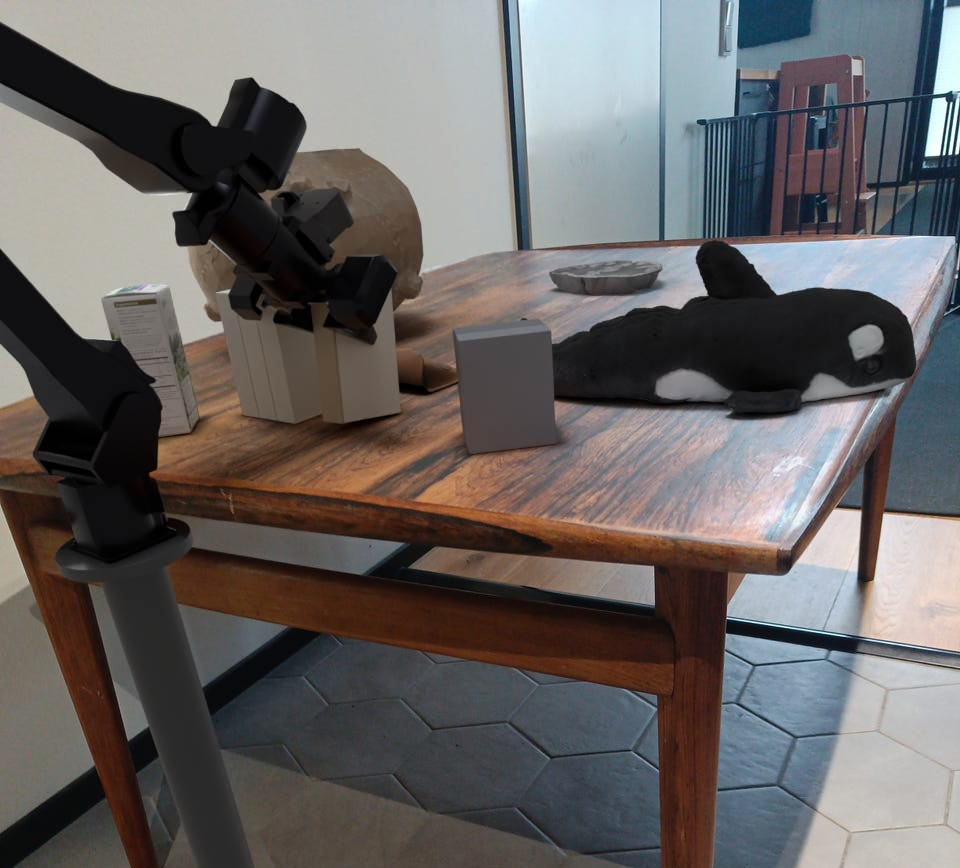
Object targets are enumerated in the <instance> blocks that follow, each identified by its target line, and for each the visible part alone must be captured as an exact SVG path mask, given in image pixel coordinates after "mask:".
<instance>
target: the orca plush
mask: <svg viewBox="0 0 960 868" xmlns="http://www.w3.org/2000/svg"><path fill="white" fill-rule="evenodd" d="M695 264H696V265H697V269H698V271H699V276H700V277H701V280H702V284H703V286H704V289H705V291H706V295H699V296H694V297H692V298H690V299H689V300H687V302H686V303H685V304H683V306H682V307H681V308H677V307H671V306H668V305H666V304H665V305H663V304H661V305H656V306H653V307H633V309H631V310H628V311H627V313H625V314H624V315H623V314H622V315H619V316H616V317H613V318H610V319H607V320H602V321H600V322H597V323H595V324H594V325H592V326H591V327H590V329H589V330H582V331H577V332H575V333H574V334H573V335H570V336H567V337H565V338H564V339H563V340H561V341H560V342H556V343H552V361H553V383H554V396H559V397H570V398H587V399H592V398H593V399H594V398H595V399H596V398H608V399H614V398H621V399H631V400H644V401H648V402H650V403H652V404H659V405H660V404H661V405H662V404H667V405H669V404H680V403H684V402H709V403H724V407H725V408H726V409H730V410H732V411H734V412H736V413H740V414H743V413H758V414H777V413H787V412H793V411H794V410H798V409H800V408H801V404H802V403H805V402H813V401H821V400H825V399H826V400H828V399H832V398H833V399H834V398H842V397H847V396H853V395H860V394H861V395H862V394H865V393H866V394H867V393H871V392H876V391H880V390H884V389H889V388H893V387H897V386H899V385H901V384H904V383H907V382H908V380H909V378H912V376H914V374H915V371H916V369H917V355H916V350H915V349H916V348H915V340H914V334H913V330H912V327H911V324H910V321H909V318H908V316H907V315H905V314H904V313H903V311H902V310H901V308H899V307H898V306H896V305H895V304H894V303H892V302H891V301H888V300H887V299H884V298H882V297H880V296H878V295H877V294H874V293H873V292H870V291H866V290H865V291H864V290H858V289H850V288H826V287H822V286H821V287H820V286H818V287H817V286H815V287H806V288H804V289H798V290H795V291H794V290H793V291H789V292H786V293H782V294H777V293H776V292H775V291H774V290H773V289H772V288H771V286H770V284H769V283H768V282H767V281H766V280H765V279H764V277H763V275H762V274H759V273H758V271H757V269H756V266H755V265H754V264H753V263H750V261H749V259H748V258H747V257H746V255H744V254H743V253H742V252H741V251H740V249H738V248H737V247H735V246H732V245H730V244H729V243H727V242H725V241H724V240H718V239H713V240H707V241H704V242H703V243H702V244H701V245H700V246H699V248H698V250H696V255H695ZM521 320H529V319H528V318H526V317H521V319H519V321H521Z"/></svg>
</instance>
